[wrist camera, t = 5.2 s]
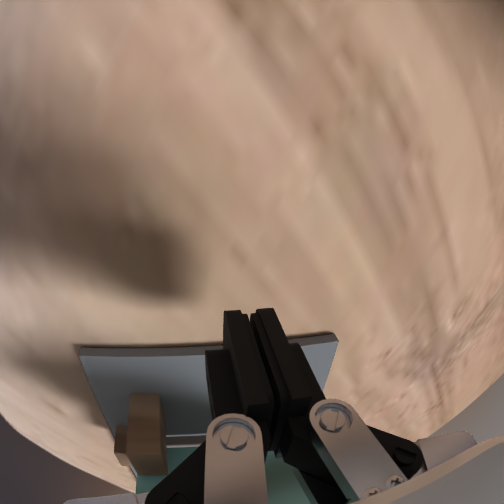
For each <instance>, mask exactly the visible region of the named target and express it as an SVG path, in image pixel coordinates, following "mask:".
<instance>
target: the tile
mask: <svg viewBox="0 0 504 504" xmlns="http://www.w3.org/2000/svg"><path fill="white" fill-rule="evenodd" d="M198 447H199V446H197V447H172V448H167V464H168V475H169V474H170V473H171V472H172V471H173V470H174V469H175V468H176V467H178V466H179V465H180V464H181V463H182V462H183V461H184V460H185V459H186V458H187V457H188V456H189V455H190V454H192V453H193V452H194V451H195V450H196V449H197V448H198ZM168 475H138V474H137V483H136V494H141V493H147V492H150V491H151V490H152V489H153V488H154V487H155V486H156V485H157V484H158V483H160V482H161V481H162V480H163V479H164V478H165V477H166V476H168ZM265 475H266V486H267V496H268V504H311V503H310V502H309V500H308V498H307V496H306V495H305V493H304V491H303V489H302V487H301V486H300V484H299V482H298V480H297V478H296V477H295V475H294V473H293V471H292V468H291V465H289V464H287V463H285V462H284V460H283V457H282V458H275V454H274V451H268V453H267V457H266V461H265Z"/></svg>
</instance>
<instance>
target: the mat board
mask: <svg viewBox="0 0 504 504" xmlns="http://www.w3.org/2000/svg"><path fill="white" fill-rule="evenodd" d="M288 342H289V343H296V342H297V343H299V345H300V346H301V348H302V350H303V352H304V354H305V356H306V358H307V360H308V363H309V365H310V367H311V369H312V371H313V373H314V375H315V377H316V379H317V381H318V383H319V385H320V388H321V390H322V391H323V388H324V386H325V383H326V380H327V377H328V374H329V371H330V368H331V364H332V361H333V358H334V355H335V352H336V349H337V345H338V342H339V340H338V339H337V337H336V335H335V334H328V335H321V336H313V337H305V338H297V339H288ZM217 349H223V345H217V346H199V347H175V348H83V347H81V349H80V353H79V358H80V361H81V363H82V366H83V369H84V371H85V374H86V376H87V379H88V381H89V384H90V386H91V388H92V391H93V393H94V395H95V398H96V400H97V402H98V405H99V407H100V409H101V411H102V413H103V415H104V418H105V420H106V422H107V424H108V426H109V428H110V430H111V432H112V434H113V436H114V438H115V431H116V426H128V411H129V399H130V394H160V399H161V403H162V407H163V412H164V416H165V422H166V437H174V436H198V435H206V433H207V429H208V426H209V425H210V423H211V422H212V416H211V409H210V402H209V395H208V388H207V380H206V367H205V350H217ZM130 467H131V469H132V470H133V472H134V474H135V475H136V477H137V473H136V471H135V469H134V467H133V466H130Z"/></svg>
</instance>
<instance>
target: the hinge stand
mask: <svg viewBox="0 0 504 504" xmlns="http://www.w3.org/2000/svg"><path fill="white" fill-rule="evenodd" d="M205 440H206V435H198V436H174V437H166V422H165V416H164V412H163V407H162V403H161V399H160V394H130V399H129V411H128V426H116V431H115V445H114V454H115V455H116V457H117V459H118V460H119V462H120V464H121V465H122V466H133V467H134V469H135V471H136V473H137V474H138V475H168V464H167V448H172V447H197V446H200V445H201V444H202V443H203V442H204V441H205Z"/></svg>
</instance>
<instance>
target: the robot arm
mask: <svg viewBox="0 0 504 504" xmlns="http://www.w3.org/2000/svg"><path fill="white" fill-rule="evenodd" d="M205 367H206V380H207V388H208V395H209V402H210V409H211V416H212V422H211V423H210V425H209V426H208V429H207V433H206V440H205V441H204V442H203V443H202V444H201V445H200V446H199V447H198V448H197V449H196V450H195V451H194V452H193V453H192V454H190V455H189V456H188V457H187V458H186V459H185V460H184V461H183V462H182V463H181V464H180V465H179V466H178V467H176V468H175V469H174V470H173V471H172V472H171V473H170V474H169V475H168V476H166V477H165V478H164V479H163V480H162V481H161V482H160V483H158V484H157V485H156V486H155V487H154V488H153V489H152V490H151V491H150V492H147V493H141V494H134V493H128V494H121V495H113V496H105V497H95V498H83V499H73V500H69V501H66V502H65V503H64V504H268V496H267V486H266V475H265V461H266V457H267V453H268V451H274V454H275V458H282V457H283V460H284V462H285V463H287V464H289V465H291V468H292V471H293V473H294V475H295V477H296V478H297V480H298V482H299V484H300V486H301V487H302V489H303V491H304V493H305V495H306V496H307V498H308V500H309V502H310V503H311V504H504V436H500V437H496V438H491V439H488V440H485V441H484V442H481V443H479V444H477V443H476V440H475V439H474V437H473V436H472V435H471V434H470V433H468V432H465V431H456V432H453V433H448V434H443V435H439V436H434V437H429V438H423V439H418V440H417V442H414V443H413V442H411V441H409V440H407V439H404V438H401V437H398V436H395V435H392V434H389V433H387V432H384V431H381V430H378V429H376V428H373V427H370V426H368V425H366V424H365V423H364V421H363V420H362V419H361V417H360V416H359V415H358V413H357V412H356V411H355V410H354V408H353V407H352V406H351V405H349V404H348V403H346V402H344V401H341V400H338V399H326V398H325V396H324V394H323V392H322V390H321V388H320V385H319V383H318V381H317V379H316V377H315V375H314V373H313V371H312V369H311V367H310V365H309V363H308V360H307V358H306V356H305V354H304V352H303V350H302V348H301V346H300V345H299V343H297V342H296V343H289V342H288V340H287V338H286V335H285V333H284V331H283V329H282V326H281V324H280V322H279V320H278V317H277V315H276V313H275V311H274V309H273V308H264V309H257V310H256V313H252V314H251V316H250V321H249V318H248V315H247V314H242V313H241V310H232V311H224V324H223V349H217V350H205Z"/></svg>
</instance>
